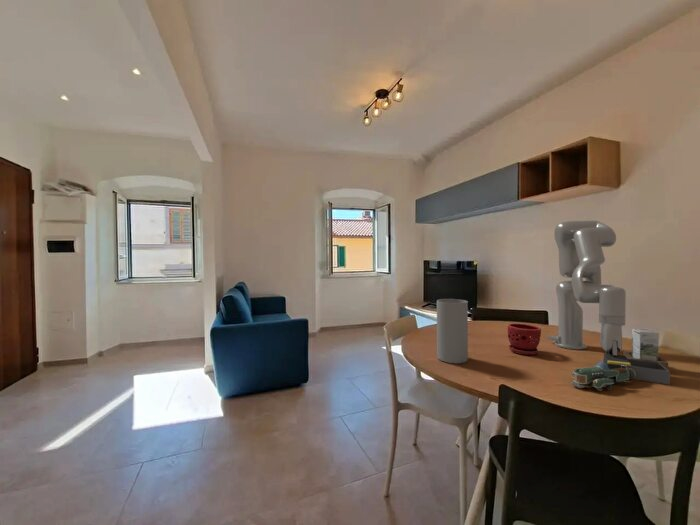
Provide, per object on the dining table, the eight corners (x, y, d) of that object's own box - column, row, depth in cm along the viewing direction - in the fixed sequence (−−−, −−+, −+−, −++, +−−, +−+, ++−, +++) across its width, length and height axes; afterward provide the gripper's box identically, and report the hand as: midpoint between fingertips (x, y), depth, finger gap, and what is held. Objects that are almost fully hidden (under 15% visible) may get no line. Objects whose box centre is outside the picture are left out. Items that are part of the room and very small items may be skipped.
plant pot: (534, 358, 129) (535, 330, 128) (502, 351, 139) (502, 325, 138) (544, 352, 137) (545, 326, 137) (514, 346, 147) (514, 321, 147)
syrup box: (649, 364, 120) (649, 328, 120) (658, 370, 115) (659, 332, 114) (631, 363, 122) (631, 327, 122) (639, 368, 116) (640, 331, 116)
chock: (606, 375, 110) (608, 361, 108) (602, 366, 114) (604, 353, 112) (628, 378, 107) (630, 364, 105) (623, 369, 112) (625, 355, 110)
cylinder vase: (431, 359, 129) (431, 301, 128) (444, 352, 138) (444, 298, 138) (460, 366, 120) (460, 304, 120) (472, 358, 130) (472, 300, 129)
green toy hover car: (561, 383, 105) (561, 359, 104) (619, 376, 110) (619, 353, 110) (588, 395, 95) (588, 369, 95) (650, 387, 100) (650, 362, 100)
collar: (630, 368, 117) (630, 358, 117) (623, 360, 125) (623, 350, 125) (668, 373, 111) (668, 362, 111) (658, 364, 120) (658, 354, 120)
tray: (629, 378, 107) (629, 366, 107) (622, 369, 116) (622, 357, 116) (669, 384, 102) (670, 371, 102) (659, 374, 111) (659, 362, 110)
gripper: (595, 315, 122) (595, 360, 123) (603, 322, 109) (602, 372, 110) (620, 317, 118) (619, 363, 119) (630, 324, 106) (630, 376, 106)
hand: (611, 367), depth 114 cm, fingers closed
